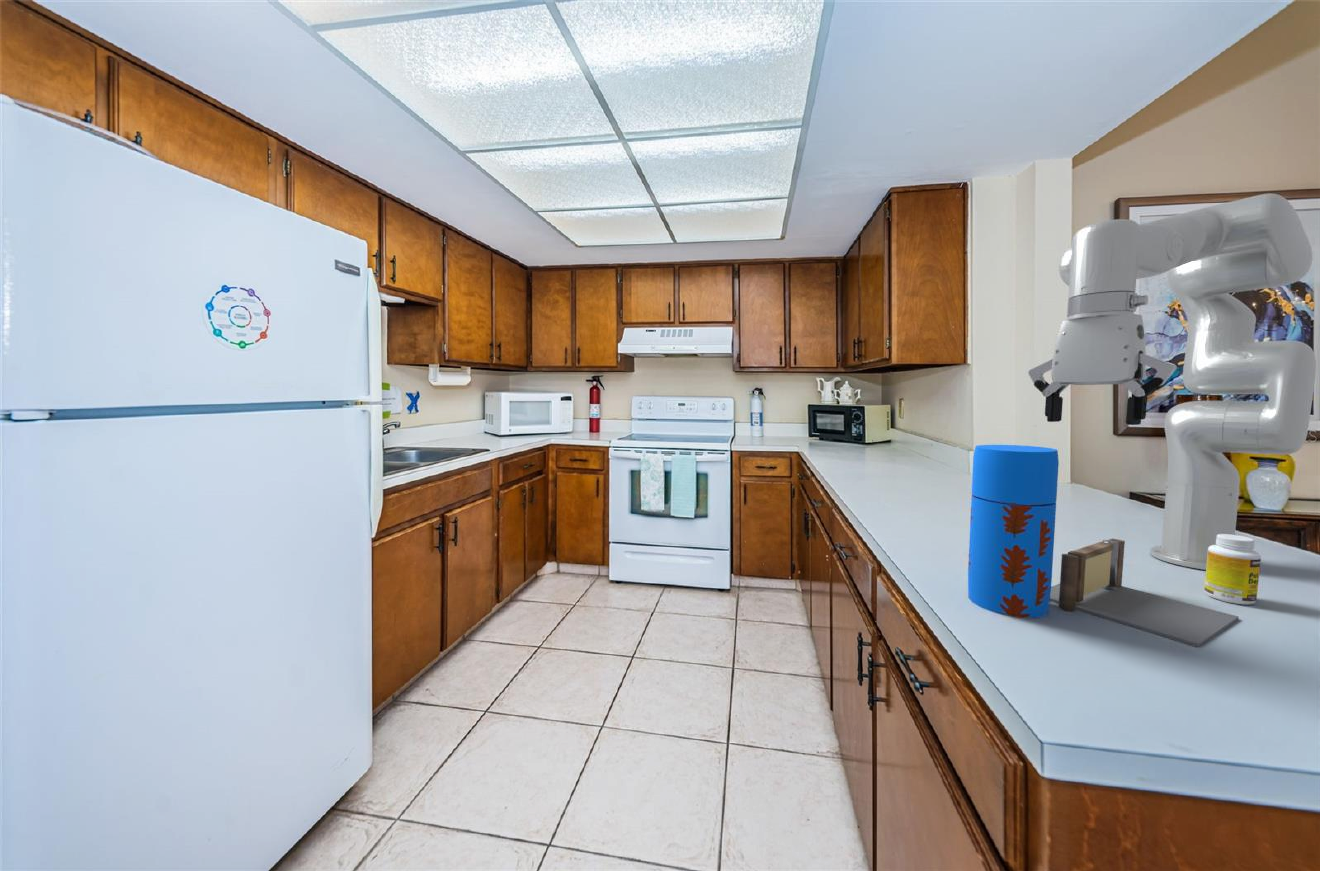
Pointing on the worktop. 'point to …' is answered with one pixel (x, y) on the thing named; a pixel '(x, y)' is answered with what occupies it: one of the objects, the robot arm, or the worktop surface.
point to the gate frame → (1139, 606)
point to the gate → (1096, 567)
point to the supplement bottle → (1233, 570)
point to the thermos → (1012, 529)
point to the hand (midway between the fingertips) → (1091, 422)
